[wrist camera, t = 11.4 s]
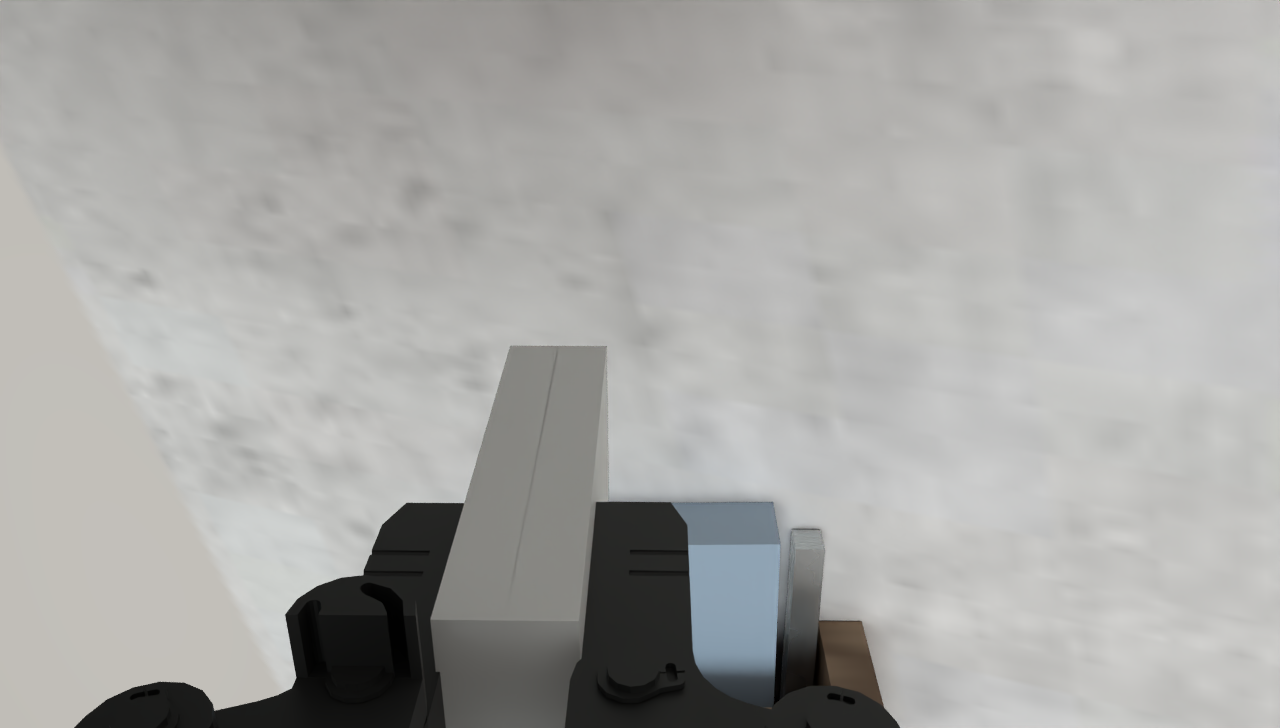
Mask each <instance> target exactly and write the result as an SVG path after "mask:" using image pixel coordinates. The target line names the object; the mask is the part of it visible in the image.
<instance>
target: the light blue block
mask: <svg viewBox="0 0 1280 728" xmlns="http://www.w3.org/2000/svg"><path fill="white" fill-rule="evenodd" d="M672 505H673V506H674V507H675V509H676V510H677V511H678V513H679V514H680V515H681V517H682V518H683V519H684V521H685V522H686V524H687V527H688V550H689V552H688V554H689V576H690V596H691V620H692V643H693V654H694V659H695V663H696V665H697V667H698V669H699V670H700V672H701V674H702V675H703V677H704V678H705V679H707V680H708V681H709V682H710V683H711V684H712V685H713V686H714V687H715V688H717V689H718V690H720V691H722V692H723V693H725V694H727V695H728V696H730V697H732V698H735V699H738V700H741V701H743V702H746V703H749V704H753V705H757V706H760V707H769V708H772V706H774V685H775V661H776V638H777V614H778V590H779V567H780V539H779V533H778V528H777V522H776V516H775V510H774V505H773V502H713V503H672Z"/></svg>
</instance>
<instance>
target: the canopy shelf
mask: <svg viewBox="0 0 1280 728" xmlns="http://www.w3.org/2000/svg"><path fill="white" fill-rule="evenodd" d="M824 554H825V548H824V544H823V539H822V535H821V531H820V530H797V529H792V534H791V548H790V562H789V576H788V590H787V604H786V618H785V632H784V646H783V660H782V674H781V688H780V700H781V699H782V698H783V697H784V696H785V695H786V694H787V693H790V692H793V691H796V690H799V689H802V688H805V687H808V686H838V687H842V688H846V689H850V690H854V691H858V692H860V693H862V694H864V695H865V696H867V697H869V698H871V699H872V700H874V701H876V702H878V703H879V704H881V705H882V706H883V702H882V698H881V694H880V690H879V686H878V683H877V679H876V675H875V671H874V667H873V663H872V660H871V656H870V652H869V648H868V644H867V640H866V637H865V633H864V629H863V625H862V622H852V621H819V611H820V600H821V588H822V577H823V565H824ZM883 707H884V706H883ZM764 708H768V709H772V708H769V707H764Z"/></svg>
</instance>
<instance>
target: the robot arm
mask: <svg viewBox="0 0 1280 728" xmlns="http://www.w3.org/2000/svg"><path fill="white" fill-rule="evenodd" d="M608 501H609V466H608V399H607V346H510V349H509V352H508V356H507V359H506V363H505V366H504V369H503V373H502V376H501V380H500V383H499V387H498V390H497V393H496V397H495V400H494V404H493V407H492V410H491V414H490V417H489V421H488V424H487V428H486V431H485V434H484V438H483V441H482V445H481V448H480V451H479V455H478V458H477V462H476V465H475V469H474V472H473V475H472V479H471V482H470V486H469V489H468V493H467V496H466V499H465V503H406V504H405V505H404V506H403V507H401V508H400V509H399V510H398V511H397V512H396V513H395V514H394V515H393V516H391V517H390V518H389V519H388V520H387V521H386V522H385V523H384V524H383V525H382V527H381V529H380V532H379V534H378V536H377V539H376V541H375V544H374V546H373V549H372V555H370V556H369V559H368V561H367V564H366V566H365V569H364V575H363V576H354V577H345V578H339V579H336V580H334V581H331V582H328V583H325V584H322V585H319V586H317V587H315V588H314V589H312V590H311V591H309V592H307V593H306V594H304V595H303V596H301V597H300V598H298V599H297V600H296V602H295V603H294V604H293V605H292V607H291V608H290V609H289V610H288V612H287V613H286V614H285V616H286V622H287V627H288V633H289V638H290V644H291V650H292V655H293V661H294V666H295V672H296V677H297V678H296V680H295V683H294V685H293V687H292V689H290V690H288V691H286V692H284V693H281V694H279V695H277V696H274V697H270V698H267V699H264V700H261V701H257V702H252V703H248V704H244V705H239V706H235V707H230V708H226V709H221V710H217V711H214V708H213V704H212V702H211V701H210V700H209V698H208V697H207V696H206V694H205V693H204V692H203V690H200V689H198V688H196V687H193V686H191V685H188V684H186V683H176V682H157V683H152V684H148V685H143V686H138V687H134V688H131V689H129V690H127V691H125V692H122V693H121V694H118V695H116V696H114V697H112V698H109V699H107V700H106V701H105V702H104V703H102V704H101V705H99V706H98V707H97V708H96V709H94V710H93V711H92V712H90V713H89V714H88V715H86V716H85V717H84V718H83V719H82V720H81V721H80V723H78V724H77V725H76V727H74V728H900V727H899V725H898V723H897V722H896V721H895V719H894V718H893V717H892V716H891V715H890V714H889V713H888V712H887V711H886V709H885V708H884V707H883V706H882V705H881V704H879V703H878V702H876V701H874V700H872V699H871V698H869V697H867V696H865V695H864V694H862V693H860V692H858V691H854V690H850V689H846V688H842V687H838V686H808V687H805V688H802V689H799V690H796V691H793V692H790V693H787V694H786V695H785V696H784V697H783V698H782V699H781V700H779V701H778V702H777V703H776V704H775V705H774V706H772V709H768V708H764V707H760V706H757V705H753V704H749V703H746V702H743V701H741V700H738V699H735V698H732V697H730V696H728V695H727V694H725V693H723V692H722V691H720V690H718V689H717V688H715V687H714V686H713V685H712V684H711V683H710V682H709V681H708V680H707V679H705V678H704V677H703V675H702V674H701V672H700V670H699V669H698V667H697V665H696V663H695V659H694V654H693V643H692V620H691V596H690V576H689V554H688V552H689V550H688V527H687V524H686V522H685V521H684V519H683V518H682V517H681V515H680V514H679V513H678V511H677V510H676V509H675V507H674V506H673V505H672V503H671V502H608Z"/></svg>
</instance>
